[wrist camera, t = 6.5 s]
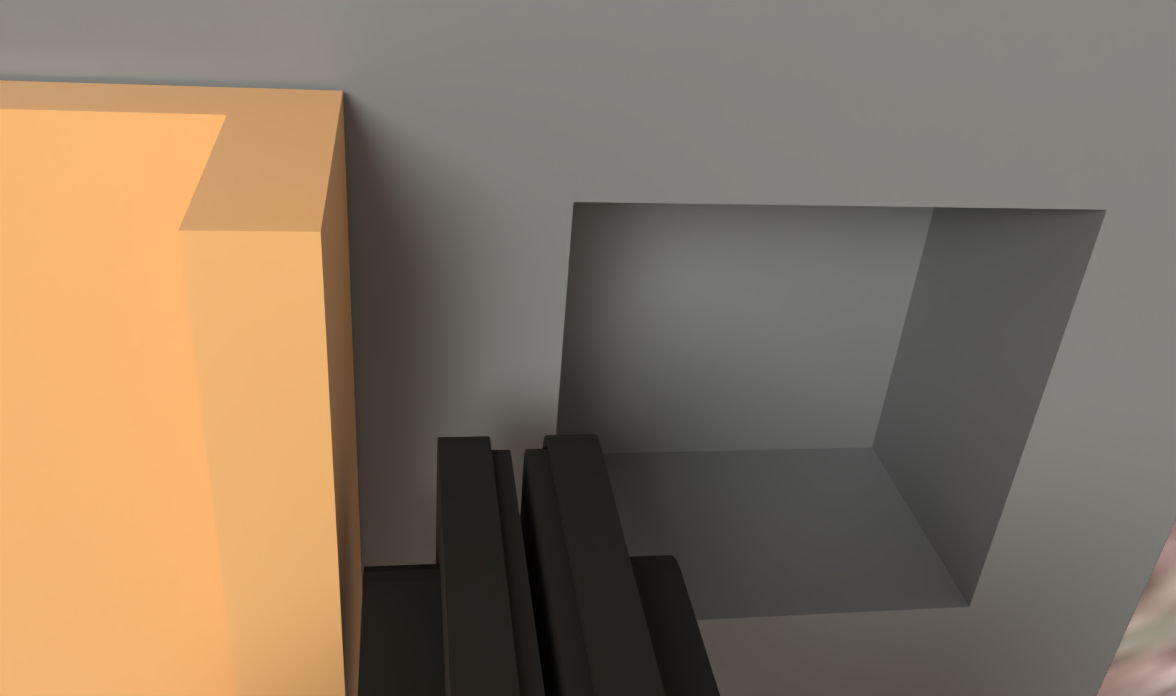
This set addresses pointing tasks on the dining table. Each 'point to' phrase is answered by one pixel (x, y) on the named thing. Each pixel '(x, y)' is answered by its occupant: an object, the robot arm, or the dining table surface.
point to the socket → (755, 295)
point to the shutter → (176, 393)
